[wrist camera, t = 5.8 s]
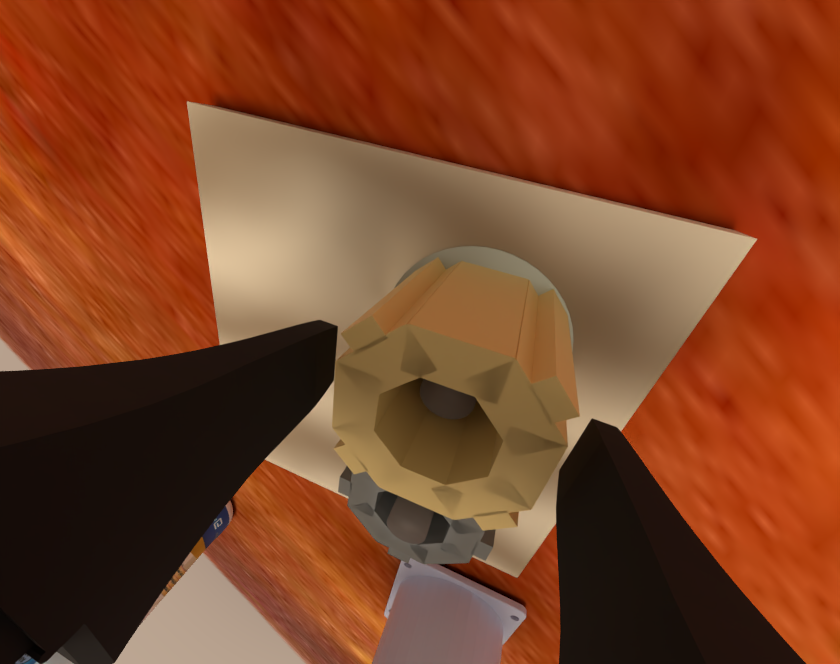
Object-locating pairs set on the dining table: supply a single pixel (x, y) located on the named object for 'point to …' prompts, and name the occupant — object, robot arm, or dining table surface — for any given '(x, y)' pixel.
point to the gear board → (452, 242)
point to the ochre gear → (465, 372)
